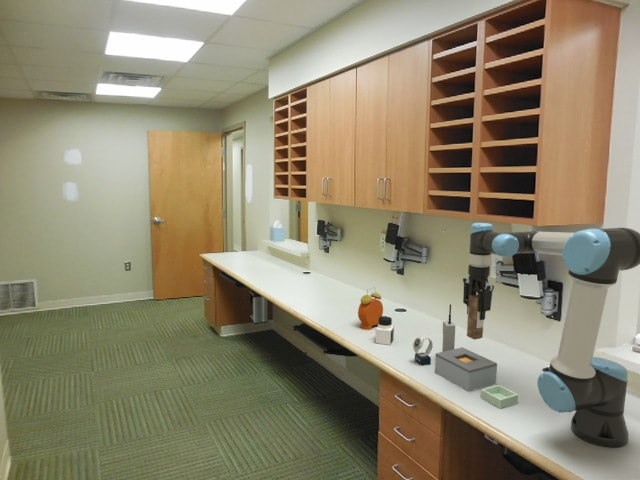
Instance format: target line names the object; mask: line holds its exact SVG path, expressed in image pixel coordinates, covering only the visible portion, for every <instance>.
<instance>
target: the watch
mask: <svg viewBox="0 0 640 480" xmlns="http://www.w3.org/2000/svg"><path fill="white" fill-rule="evenodd" d="M425 340H428V341H429V343H428V346H427V348H426V350H425V352H419V350H420V349H422V347H423V344H424V342H425ZM433 345H434V343H433V342H432V340H431V339H430V338H429V337H427V336H419V337H417V338H415V339H414V341H413V343H412V348H413V351H414V352H415V353H414V362H416V363H417V364H418V365H420V366H421V367H422V366H430V365H431V364H432V363H431V361H432V359H431V356H429V354H430V353H431V352H432V349H433Z"/></svg>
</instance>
